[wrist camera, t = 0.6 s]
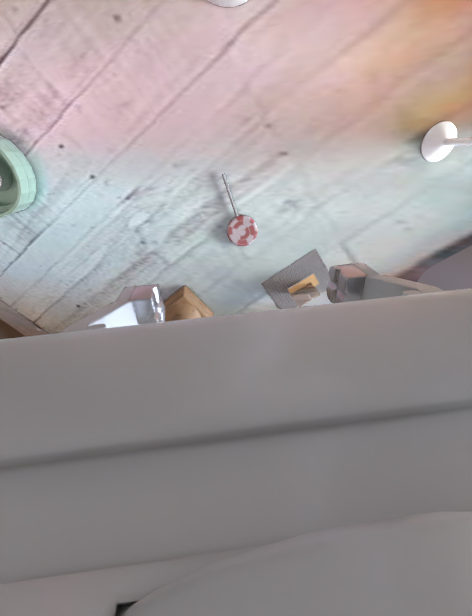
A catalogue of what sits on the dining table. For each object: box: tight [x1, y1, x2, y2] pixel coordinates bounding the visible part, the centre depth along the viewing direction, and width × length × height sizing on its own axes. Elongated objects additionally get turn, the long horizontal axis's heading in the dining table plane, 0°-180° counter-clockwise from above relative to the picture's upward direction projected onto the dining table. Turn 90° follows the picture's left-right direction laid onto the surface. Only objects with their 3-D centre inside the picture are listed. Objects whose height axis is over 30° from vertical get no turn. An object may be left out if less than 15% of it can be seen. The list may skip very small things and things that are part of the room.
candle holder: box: [163, 286, 214, 322], centre depth 58 cm, size 11×11×24 cm
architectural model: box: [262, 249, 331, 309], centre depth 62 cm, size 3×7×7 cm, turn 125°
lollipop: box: [222, 174, 257, 246], centre depth 56 cm, size 7×1×15 cm
